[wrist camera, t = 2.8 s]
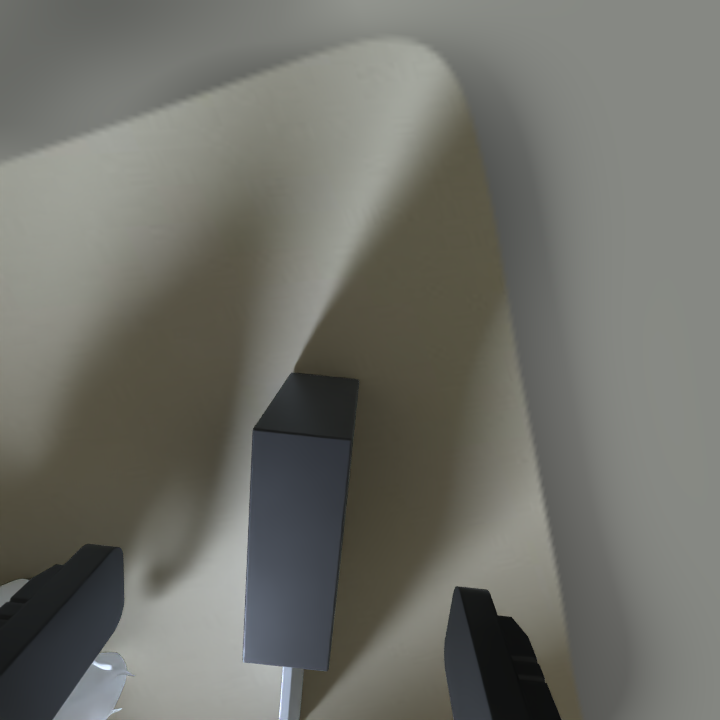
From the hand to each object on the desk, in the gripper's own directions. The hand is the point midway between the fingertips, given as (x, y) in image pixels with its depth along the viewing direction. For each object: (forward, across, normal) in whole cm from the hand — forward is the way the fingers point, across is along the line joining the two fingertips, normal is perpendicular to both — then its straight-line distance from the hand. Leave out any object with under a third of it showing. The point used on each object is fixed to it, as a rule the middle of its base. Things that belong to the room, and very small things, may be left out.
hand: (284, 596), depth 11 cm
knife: (+6, 0, +4) cm, 7 cm away
